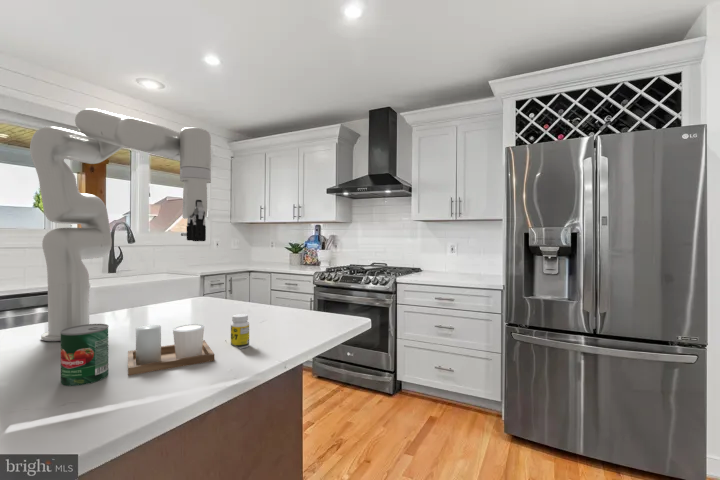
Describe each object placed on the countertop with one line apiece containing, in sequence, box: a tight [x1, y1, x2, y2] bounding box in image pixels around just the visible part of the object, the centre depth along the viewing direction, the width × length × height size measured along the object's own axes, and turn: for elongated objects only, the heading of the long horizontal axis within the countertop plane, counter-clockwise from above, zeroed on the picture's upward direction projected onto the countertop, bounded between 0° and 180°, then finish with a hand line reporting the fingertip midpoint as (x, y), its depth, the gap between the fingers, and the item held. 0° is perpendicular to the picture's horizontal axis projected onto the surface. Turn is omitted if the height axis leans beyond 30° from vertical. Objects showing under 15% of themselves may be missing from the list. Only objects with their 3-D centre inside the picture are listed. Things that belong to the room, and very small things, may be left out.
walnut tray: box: [127, 339, 215, 377], centre depth 87 cm, size 13×17×2 cm
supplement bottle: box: [230, 313, 250, 350], centre depth 99 cm, size 5×5×8 cm
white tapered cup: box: [172, 323, 205, 359], centre depth 89 cm, size 7×7×7 cm
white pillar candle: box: [135, 324, 162, 365], centre depth 85 cm, size 5×5×8 cm
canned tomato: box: [60, 323, 109, 387], centre depth 75 cm, size 8×8×11 cm
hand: (195, 240), depth 99 cm, fingers open, 9 cm apart
